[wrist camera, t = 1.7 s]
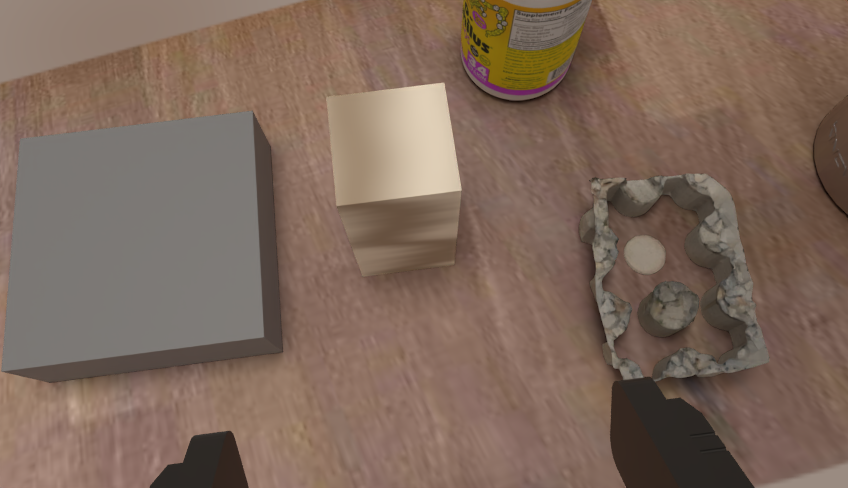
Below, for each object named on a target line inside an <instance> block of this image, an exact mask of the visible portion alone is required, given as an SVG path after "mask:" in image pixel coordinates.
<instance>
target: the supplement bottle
mask: <svg viewBox="0 0 848 488" xmlns="http://www.w3.org/2000/svg"><path fill="white" fill-rule="evenodd" d="M591 2H592V0H464V2H463V17H462V31H461V58H462V62H463V65H464V68H465V70H466V72H467V74H468V75H469V77H470V78H471V79H472V81H473V82H474V83H475V84H476V85H477V86H479V87H480V88H481V89H482V90H484V91H485V92H487V93H489V94H491V95H493V96H496V97H499V98H502V99H507V100H526V99H532V98H536V97H538V96H541V95H543V94H545V93H547V92H549V91H550V90H552V89H553V88H554V87H555V86H557V85H558V84H559V83H560V81H561V80H562V79H563V78H564V76H565V75H566V73H567V71H568V69H569V66H570V64H571V61H572V58H573V55H574V53H575V50H576V47H577V44H578V41H579V38H580V35H581V32H582V29H583V26H584V22H585V19H586V16H587V13H588V11H589V8H590V5H591Z"/></svg>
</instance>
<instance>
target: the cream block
mask: <svg viewBox="0 0 848 488" xmlns="http://www.w3.org/2000/svg"><path fill="white" fill-rule="evenodd" d="M326 99H327V109H328V120H329V131H330V142H331V152H332V163H333V174H334V185H335V195H336V206H337V209H338V212H339V214H340V217H341V220H342V223H343V225H344V228H345V231H346V233H347V236H348V239H349V242H350V244H351V247H352V250H353V253H354V255H355V258H356V261H357V263H358V266H359V269H360V272H361V274H362V277H366V276H374V275H381V274H389V273H397V272H405V271H413V270H420V269H428V268H436V267H444V266H451V265H454V263H455V253H456V243H457V233H458V222H459V212H460V202H461V192H462V190H461V183H460V177H459V171H458V165H457V159H456V153H455V146H454V140H453V134H452V128H451V122H450V115H449V109H448V103H447V97H446V91H445V85H444V83H438V84H430V85H422V86H413V87H405V88H397V89H388V90H380V91H372V92H363V93H355V94H347V95H338V96H330V97H326Z"/></svg>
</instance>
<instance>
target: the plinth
mask: <svg viewBox="0 0 848 488" xmlns="http://www.w3.org/2000/svg"><path fill="white" fill-rule="evenodd" d="M279 352H283V347H282V330H281V314H280V297H279V280H278V263H277V246H276V230H275V213H274V196H273V179H272V163H271V147H270V145H269V143H268V141H267V139H266V137H265V135H264V133H263V131H262V129H261V127H260V125H259V123H258V121H257V119H256V117H255V115H254V113H253V111H247V112H239V113H230V114H222V115H214V116H205V117H197V118H189V119H181V120H172V121H164V122H156V123H147V124H139V125H131V126H122V127H114V128H106V129H98V130H89V131H81V132H73V133H64V134H56V135H48V136H39V137H31V138H23V139H20V146H19V159H18V171H17V184H16V196H15V209H14V221H13V234H12V246H11V259H10V271H9V284H8V296H7V309H6V321H5V334H4V346H3V359H2V372H6V373H10V374H15V375H19V376H23V377H28V378H32V379H36V380H41V381H45V382H49V383H51V382H58V381H66V380H74V379H81V378H89V377H96V376H104V375H112V374H119V373H127V372H135V371H142V370H150V369H157V368H165V367H173V366H180V365H188V364H195V363H203V362H211V361H218V360H226V359H234V358H241V357H249V356H256V355H264V354H272V353H279Z"/></svg>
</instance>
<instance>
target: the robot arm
mask: <svg viewBox="0 0 848 488" xmlns="http://www.w3.org/2000/svg"><path fill="white" fill-rule="evenodd" d="M814 159H815V164H816V168H817V172H818V175H819V177H820V179H821V181H822V183H823V185H824V188H825V190H826V191H827V192H828V194H829V195H830V196H831V198H832V199H833V200H834V202H835V203H836V204H837V205H838V206H839V207H840V208H841V209H842V210H843V211H844V212H845V213H846V214H847V215H848V95H847V96H846V97H845V98H844V99H843V100H842V101H841V102H840V103H838V104H837V105H836V106H835V107H834V108H833V109H832V110H831V111H830V112H829V113H828V114H827V115H826V116H825V117H824V119H823V121H822V123H821V125H820V126H819V128H818V130H817V134H816V138H815V142H814ZM610 441H611V449H612V454H613V458H614V461H615V464H616V467H617V469H618V471H619V473H620V475H621V477H622V479H623V482H624V484H625V486H626V488H754V486H753V485H752V483H751V482H750V481H749V479H748V478H747V476H746V475H745V474H744V472H743V471H742V469H741V468H740V466H739V465H738V464H737V462H736V461H735V459H734V458H733V457H732V455H731V454H730V452H729V451H726V447H725V445H724V444H723V443H722V441H721V440H720V438H719V437H718V435H715V431H714V430H713V428H712V427H711V426H710V424H709V423H708V421H707V420H706V419H705V417H704V416H703V414H702V413H701V412H700V411H698V410H697V409H695V408H694V407H692V406H691V405H690V404H688V403H687V402H685V401H684V400H683V399H681V398H675V399H667V400H666V398H665V397H664V395H663V394H662V392H661V390H660V389H659V387H658V386H657V384H656V383H655V381H654V380H653V379H652V378H651V377H643V378H636V379H628V380H620V381H615V382H614V383H613V386H612V403H611V430H610ZM150 488H248V483H247V480H246V476H245V473H244V469H243V465H242V462H241V458H240V455H239V451H238V448H237V444H236V441H235V438H234V435H233V433H232V432H231V431H225V432H217V433H210V434H202V435H195V436H193V437H192V439H191V441H190V443H189V446H188V449H187V452H186V455H185V458H184V461H183V463H178V464H171V465H168V466H167V467H166V468H165V469H164V470H163V471H162V473H161V474H160V475H159V476H158V477H157V478H156V480H155V481H154V482H153V483H152V484H151V485H150Z"/></svg>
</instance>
